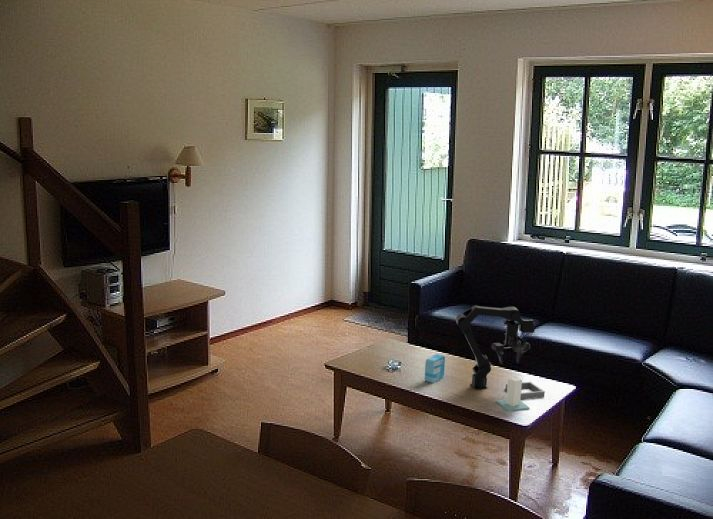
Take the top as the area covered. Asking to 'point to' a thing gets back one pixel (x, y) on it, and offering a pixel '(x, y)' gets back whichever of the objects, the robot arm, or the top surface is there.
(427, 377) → the light blue upright slab
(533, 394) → the gray square frame
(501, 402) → the teal mat
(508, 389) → the block
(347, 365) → the top surface
